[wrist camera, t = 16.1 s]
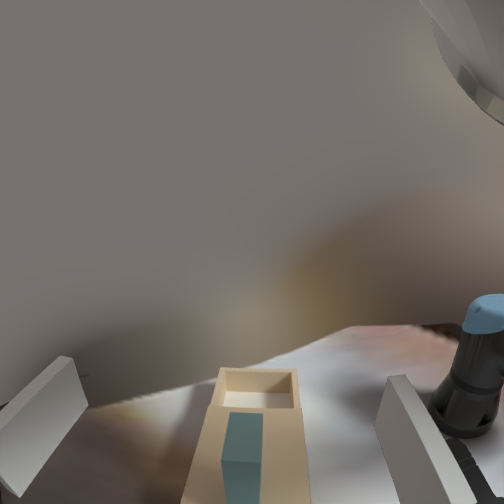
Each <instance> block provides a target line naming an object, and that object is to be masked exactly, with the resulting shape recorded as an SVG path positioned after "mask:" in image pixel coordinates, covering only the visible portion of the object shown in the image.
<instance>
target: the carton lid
mask: <svg viewBox="0 0 504 504" xmlns="http://www.w3.org/2000/svg"><path fill="white" fill-rule="evenodd" d="M180 504H311V499H310V487H309V475H308V464H307V454H306V444H305V434H304V424H303V415H302V408H242V407H225V406H212V405H208V409H207V412H206V415H205V419H204V422H203V426H202V429H201V433H200V436H199V440H198V443H197V447H196V450H195V454H194V457H193V461H192V464H191V468H190V471H189V475H188V478H187V482H186V485H185V489H184V492H183V495H182V499H181V502H180Z"/></svg>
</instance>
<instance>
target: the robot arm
mask: <svg viewBox="0 0 504 504" xmlns="http://www.w3.org/2000/svg"><path fill="white" fill-rule="evenodd" d="M418 1H419V2H420V3H421V4H422V5H423V6H424V8H425V9H426V10H427V11H428V12H429V14H430V15H431V16H432V26H433V31H434V36H435V39H436V42H437V45H438V48H439V51H440V53H441V55H442V58H443V60H444V62H445V63H446V65H447V67H448V69H449V71H450V72H451V73H452V75H453V76H454V78H455V79H456V81H457V82H458V84H459V85H460V86H461V87H462V89H463V90H464V91H465V92H466V93H467V94H468V96H469V97H470V98H471V99H472V100H473V101H474V102H475V103H476V104H477V105H478V106H479V107H480V108H481V109H482V110H483V111H484V112H485V113H487V114H488V115H489V116H490V117H492V118H493V119H494V120H495V121H497V122H498V123H500V124H501V125H503V126H504V0H418ZM462 328H463V331H462V334H461V338H460V342H459V345H458V348H457V351H456V355H455V358H454V361H453V364H452V367H451V370H450V372H449V374H448V375H447V377H446V378H445V379H444V380H443V382H442V383H441V384H440V386H439V387H438V388H437V389H436V391H435V392H434V394H433V395H432V398H431V400H430V403H429V406H428V411H427V409H426V407H425V406H424V404H423V402H422V401H421V399H420V397H419V396H418V394H417V393H416V391H415V389H414V388H413V386H412V385H411V383H410V381H409V380H408V378H407V377H406V375H405V374H404V375H396V376H388V379H387V383H386V386H385V390H384V393H383V397H382V400H381V403H380V407H379V410H378V413H377V416H376V419H375V422H374V428H375V431H376V433H377V436H378V439H379V442H380V444H381V447H382V450H383V453H384V456H385V459H386V462H387V464H388V467H389V470H390V473H391V476H392V479H393V482H394V485H395V488H396V491H397V495H398V498H399V501H400V504H504V498H503V497H496V496H495V495H494V493H493V492H492V490H491V488H490V486H489V485H488V483H487V481H486V479H485V477H484V476H483V474H482V472H481V470H480V469H479V467H478V465H477V466H476V462H475V460H474V458H473V457H471V456H472V455H471V453H470V452H469V450H468V448H467V447H466V445H465V444H463V443H462V442H461V441H459V440H458V439H457V438H456V437H458V438H474V437H477V436H480V435H482V434H484V433H485V432H487V431H488V430H489V429H490V427H491V426H492V424H493V422H494V420H495V418H496V416H497V413H498V407H499V401H500V395H501V389H502V386H503V384H504V294H491V295H485V296H481V297H479V298H477V299H475V300H474V301H473V302H472V303H471V304H470V306H469V308H468V312H467V315H466V319H465V321H464V323H463V326H462ZM87 407H88V402H87V400H86V397H85V394H84V392H83V389H82V386H81V383H80V380H79V377H78V374H77V371H76V368H75V365H74V361H73V358H69V357H65V356H59V357H58V358H57V359H56V360H55V361H54V362H52V364H50V365H49V366H48V367H47V368H46V369H45V370H44V371H43V372H42V373H40V374H39V375H38V376H37V377H36V378H35V379H34V380H33V381H32V382H30V383H29V384H28V385H27V386H26V387H25V388H24V389H23V390H22V391H21V392H20V393H19V394H18V395H17V396H16V397H14V398H13V400H12V401H10V402H8V403H6V404H4V405H2V406H0V482H1V483H2V484H3V485H4V486H5V488H6V489H7V490H9V491H10V492H11V493H13V494H14V495H16V496H18V497H19V498H20V497H21V496H22V495H23V493H24V492H25V490H26V489H27V487H28V486H29V485H30V483H31V482H32V480H33V479H34V478H35V476H36V475H37V473H38V472H39V471H40V469H41V468H42V467H43V465H44V464H45V462H46V461H47V460H48V458H49V457H50V456H51V454H52V453H53V452H54V450H55V449H56V447H57V446H58V445H59V443H60V442H61V441H62V439H63V438H64V437H65V435H66V434H67V433H68V431H69V430H70V429H71V427H72V426H73V425H74V424H75V422H76V421H77V420H78V418H79V417H80V416H81V414H82V413H83V412H84V410H85V409H86V408H87ZM439 429H440V430H441V431H443V432H444V433H446V434H448V435H451V436H454V437H455V438H452V439H448V440H444V438H443V436H442V435H441V433H440V431H439ZM0 504H2V501H1V491H0Z"/></svg>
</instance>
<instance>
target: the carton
mask: <svg viewBox="0 0 504 504" xmlns="http://www.w3.org/2000/svg"><path fill="white" fill-rule="evenodd" d="M210 405H212V406H225V407H242V408H301V405H300V395H299V387H298V378H297V369H245V368H224V367H221V368H220V371H219V375H218V378H217V382H216V385H215V389H214V392H213V396H212V400H211V403H210Z"/></svg>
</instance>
